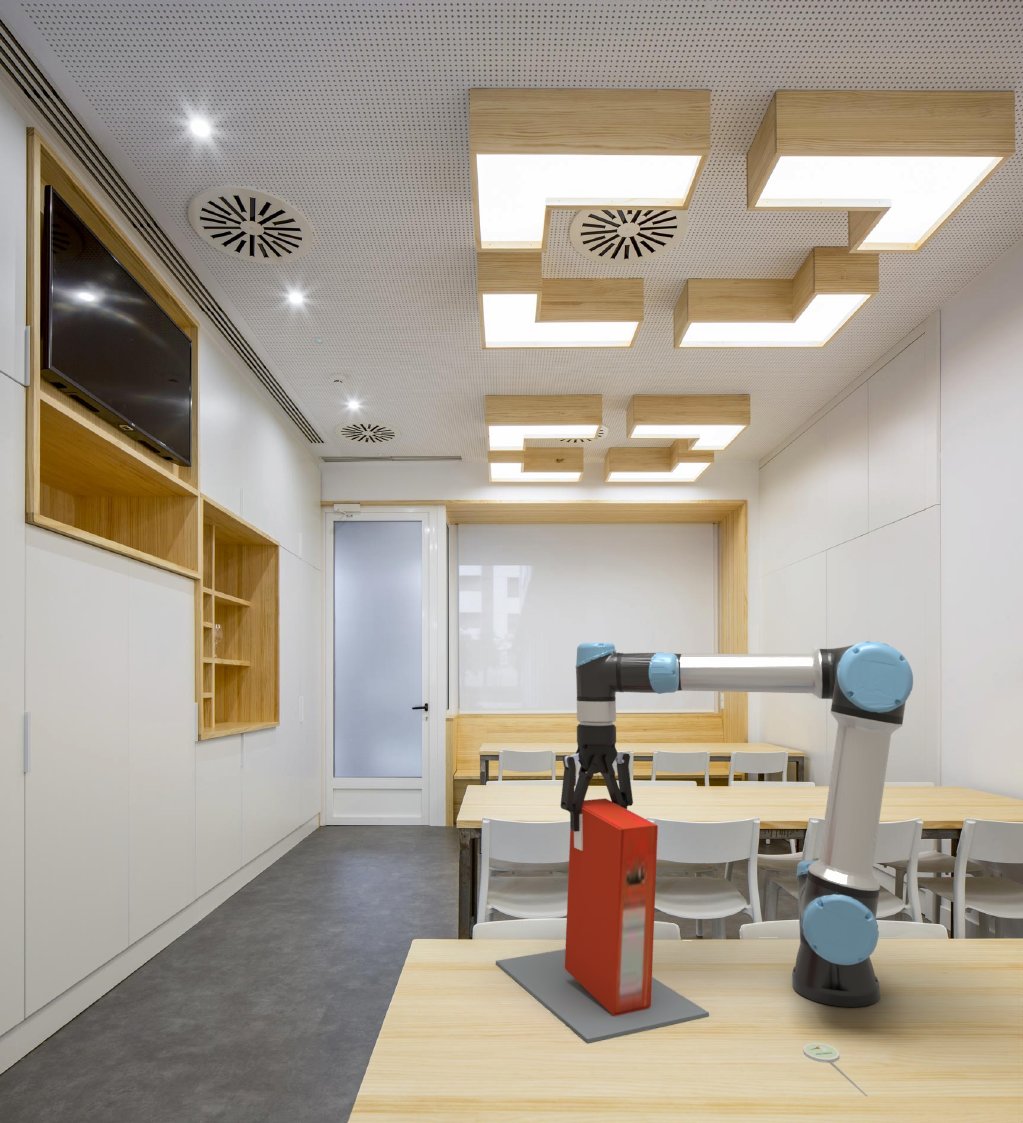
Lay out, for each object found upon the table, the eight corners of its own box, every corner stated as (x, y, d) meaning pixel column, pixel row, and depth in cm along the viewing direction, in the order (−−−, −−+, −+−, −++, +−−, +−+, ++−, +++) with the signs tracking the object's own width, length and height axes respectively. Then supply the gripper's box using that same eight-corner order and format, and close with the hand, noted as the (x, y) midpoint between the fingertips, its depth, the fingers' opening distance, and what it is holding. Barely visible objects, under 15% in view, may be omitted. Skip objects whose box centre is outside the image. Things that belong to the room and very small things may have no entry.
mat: (598, 946, 175) (598, 943, 175) (709, 1016, 140) (708, 1012, 140) (495, 963, 165) (495, 960, 165) (587, 1043, 131) (587, 1039, 131)
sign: (849, 1095, 114) (797, 1044, 129) (849, 1102, 114) (797, 1050, 129) (883, 1092, 115) (828, 1041, 129) (884, 1099, 115) (828, 1047, 129)
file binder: (611, 1016, 139) (620, 828, 139) (563, 969, 154) (571, 801, 155) (650, 1008, 142) (659, 825, 143) (599, 963, 158) (607, 798, 158)
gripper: (629, 720, 163) (631, 838, 161) (540, 723, 155) (541, 847, 152) (651, 723, 157) (653, 845, 154) (559, 726, 148) (560, 856, 146)
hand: (597, 846), depth 153 cm, fingers open, 7 cm apart
